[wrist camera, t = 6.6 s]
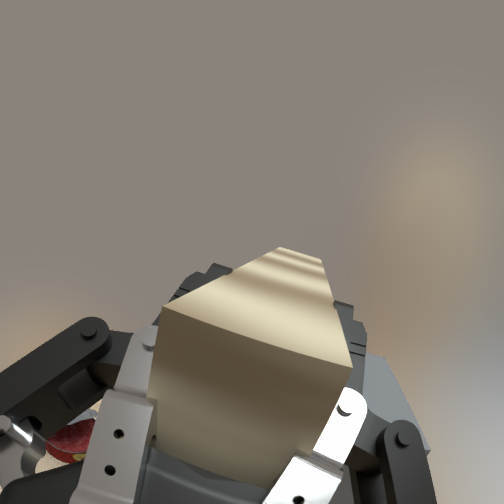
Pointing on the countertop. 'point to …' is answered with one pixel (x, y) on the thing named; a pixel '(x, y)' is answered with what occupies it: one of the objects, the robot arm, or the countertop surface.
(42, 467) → the countertop surface
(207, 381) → the birch bar
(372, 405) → the block
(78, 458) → the canned food
